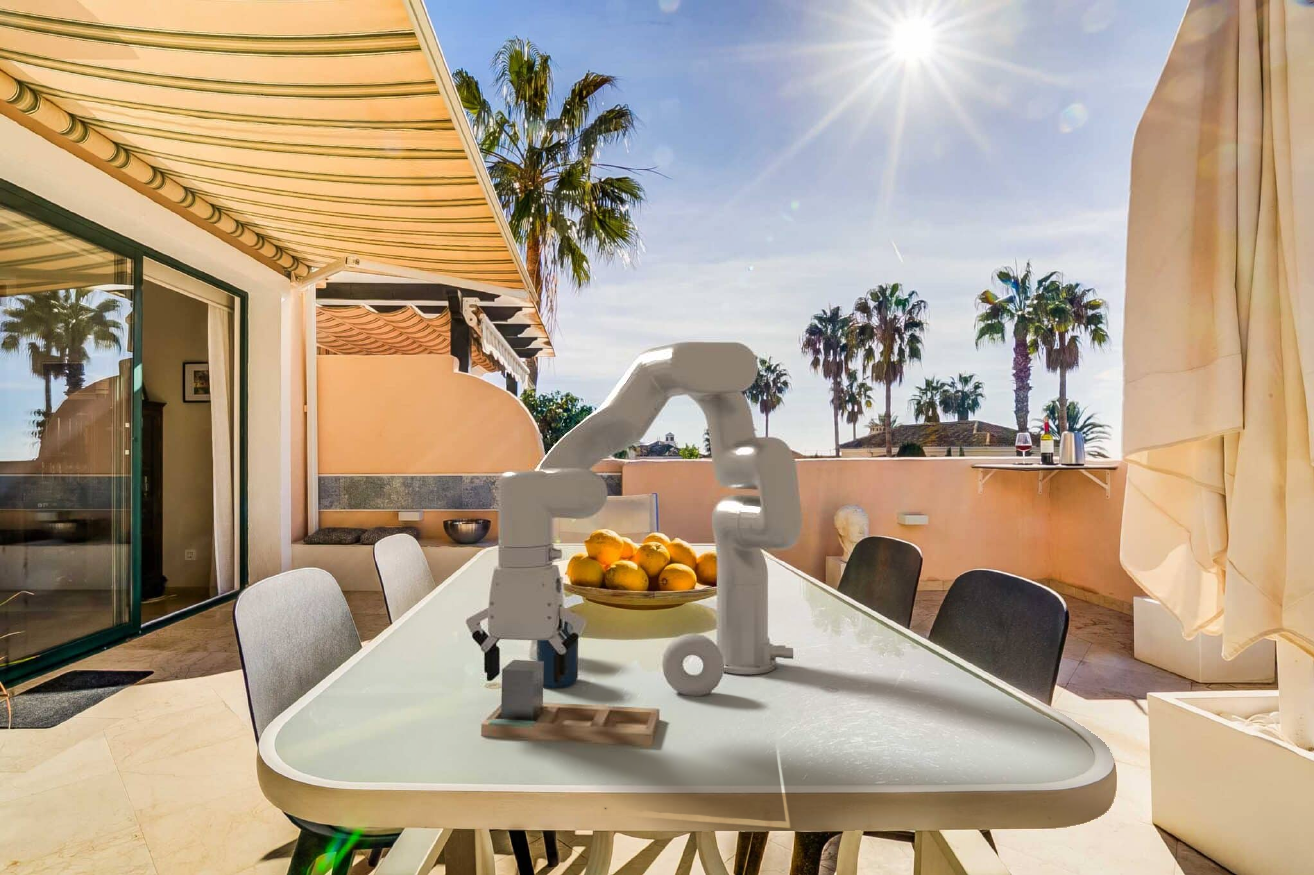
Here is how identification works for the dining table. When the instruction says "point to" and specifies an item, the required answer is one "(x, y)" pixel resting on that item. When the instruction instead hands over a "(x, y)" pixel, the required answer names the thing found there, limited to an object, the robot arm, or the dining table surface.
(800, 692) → the dining table surface
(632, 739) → the tray
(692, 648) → the donut
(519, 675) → the block
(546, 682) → the soda can
